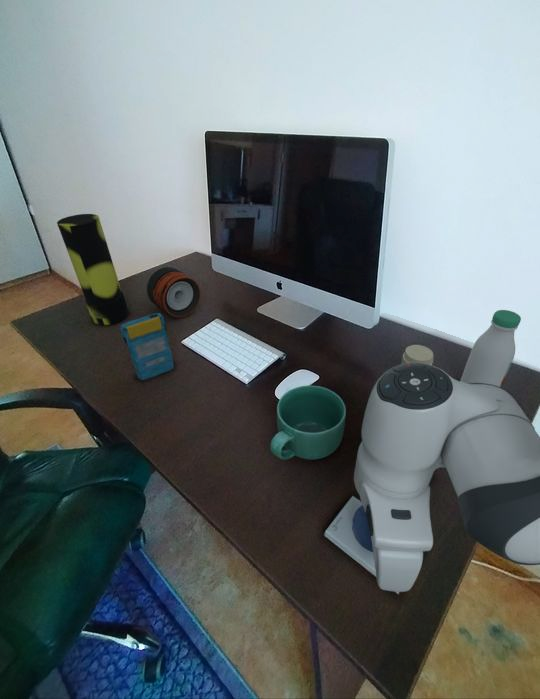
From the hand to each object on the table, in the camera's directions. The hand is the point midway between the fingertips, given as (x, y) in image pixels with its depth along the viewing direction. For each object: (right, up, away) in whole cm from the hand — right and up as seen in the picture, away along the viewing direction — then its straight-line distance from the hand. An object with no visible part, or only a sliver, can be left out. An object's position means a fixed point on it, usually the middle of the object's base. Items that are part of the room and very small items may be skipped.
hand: (375, 531), depth 55 cm
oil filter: (-46, +40, +63) cm, 87 cm away
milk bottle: (+31, +18, +28) cm, 45 cm away
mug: (-9, +8, +17) cm, 21 cm away
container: (-65, +37, +60) cm, 96 cm away
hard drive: (0, -3, +2) cm, 4 cm away
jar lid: (0, +1, -1) cm, 2 cm away
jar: (+16, +18, +29) cm, 38 cm away
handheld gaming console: (-44, +21, +37) cm, 62 cm away
